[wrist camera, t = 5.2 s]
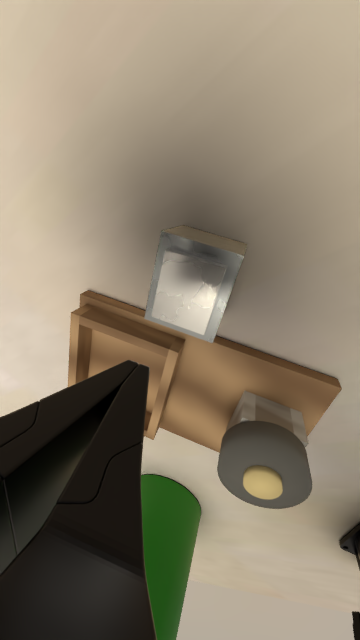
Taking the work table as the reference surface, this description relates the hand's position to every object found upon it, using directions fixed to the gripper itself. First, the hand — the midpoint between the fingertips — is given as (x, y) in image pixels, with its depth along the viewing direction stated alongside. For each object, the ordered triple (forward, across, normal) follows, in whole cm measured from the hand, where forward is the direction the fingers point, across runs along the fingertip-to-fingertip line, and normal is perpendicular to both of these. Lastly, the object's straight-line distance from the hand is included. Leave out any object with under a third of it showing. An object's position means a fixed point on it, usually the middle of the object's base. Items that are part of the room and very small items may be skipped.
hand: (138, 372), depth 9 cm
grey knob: (+11, -9, +11) cm, 18 cm away
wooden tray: (+13, -2, +11) cm, 17 cm away
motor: (+12, -4, +31) cm, 33 cm away
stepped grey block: (+13, 0, 0) cm, 13 cm away
